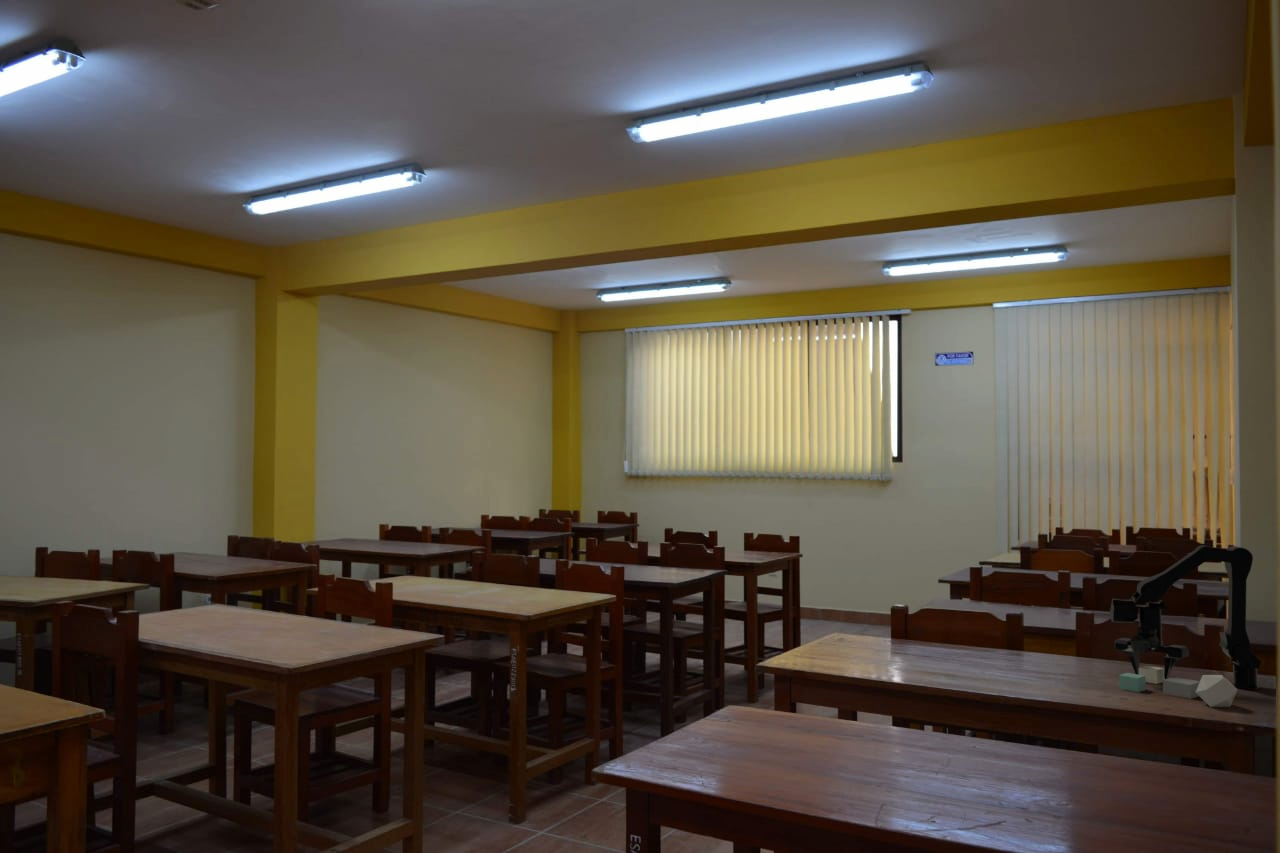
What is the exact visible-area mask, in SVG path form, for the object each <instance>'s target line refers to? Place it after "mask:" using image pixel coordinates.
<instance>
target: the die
mask: <svg viewBox="0 0 1280 853" xmlns="http://www.w3.org/2000/svg"><path fill="white" fill-rule="evenodd" d="M1199 681H1200V683H1199V685H1198V687H1197V690H1196V693H1197V694H1198V695H1199V696H1198V697H1200V698H1201V699H1202V701H1203V702H1205V703H1206V705H1208V706H1209V707H1210V708H1230V707H1231V705H1233V704H1232V703H1233V701H1234V699H1235V697H1236V694H1237V692H1238V689H1239V688H1237V687H1234V686H1233V685H1232V682H1230V681H1229V680H1228V679H1227V678H1226V677H1224V676H1223V675H1222V674H1203V675H1202V676H1201V678H1200V680H1199Z"/></svg>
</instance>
